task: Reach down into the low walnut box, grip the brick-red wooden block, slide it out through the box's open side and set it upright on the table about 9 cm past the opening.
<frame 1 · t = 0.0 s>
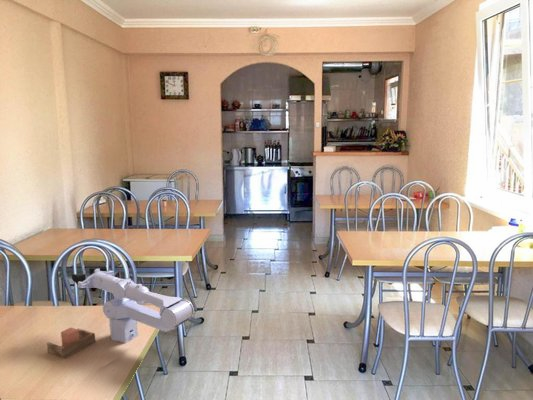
hand: (81, 273, 171), 22 cm above the table, tool horizontal, fingers open, 7 cm apart
box: (72, 348, 158), on the table
block: (71, 346, 158), point 1 cm above the table, touching box
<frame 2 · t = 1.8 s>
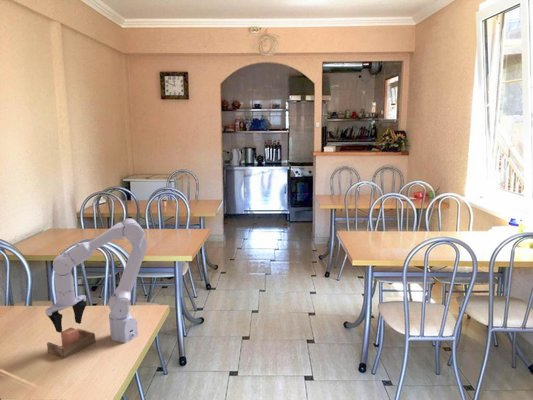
hand: (68, 327, 157), 8 cm above the table, tool pointing down, fingers open, 7 cm apart
nothing on the table moved.
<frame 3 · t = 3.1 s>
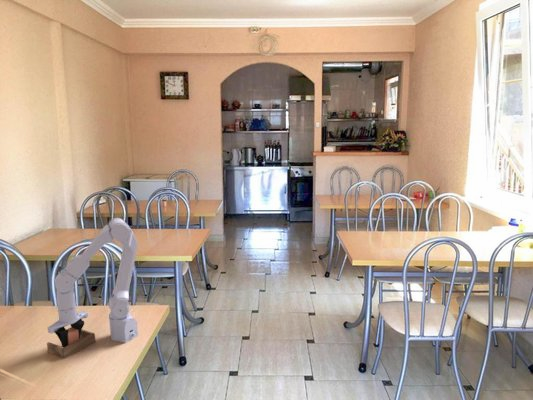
hand: (70, 344, 158), 2 cm above the table, tool pointing down, fingers closed on block, 4 cm apart
block: (71, 346, 158), point 1 cm above the table, touching box, gripper
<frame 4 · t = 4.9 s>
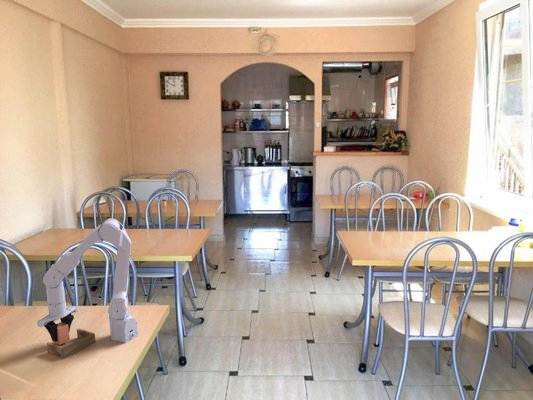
hand: (60, 337, 160), 3 cm above the table, tool pointing down, fingers closed on block, 4 cm apart
block: (61, 341, 161), point 2 cm above the table, touching gripper
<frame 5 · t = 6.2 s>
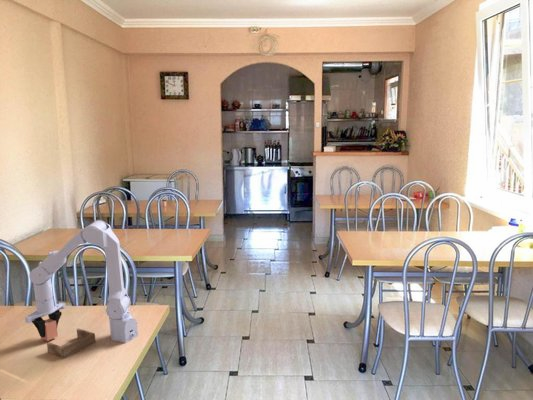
hand: (48, 333, 164), 3 cm above the table, tool pointing down, fingers closed on block, 4 cm apart
block: (49, 337, 164), point 1 cm above the table, touching gripper
when the fingers open (2 cm above the table, at t = 7.0 s): block stays where it is, on the table.
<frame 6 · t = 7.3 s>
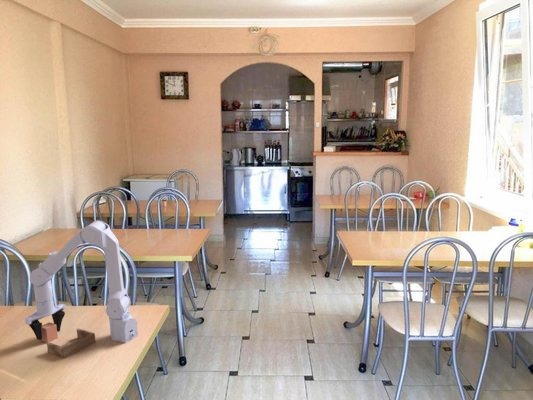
hand: (48, 335, 164), 2 cm above the table, tool pointing down, fingers open, 7 cm apart
block: (49, 340, 164), on the table
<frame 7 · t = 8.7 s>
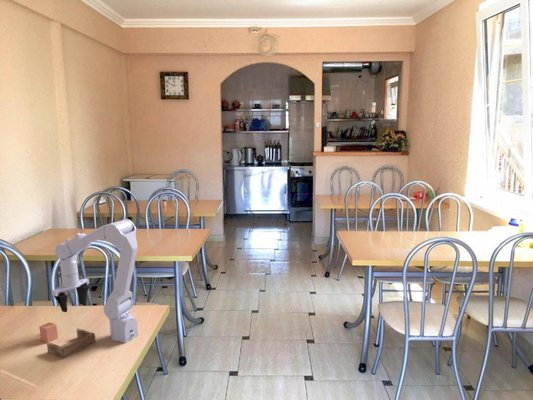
hand: (73, 307, 170), 9 cm above the table, tool pointing down, fingers open, 7 cm apart
nothing on the table moved.
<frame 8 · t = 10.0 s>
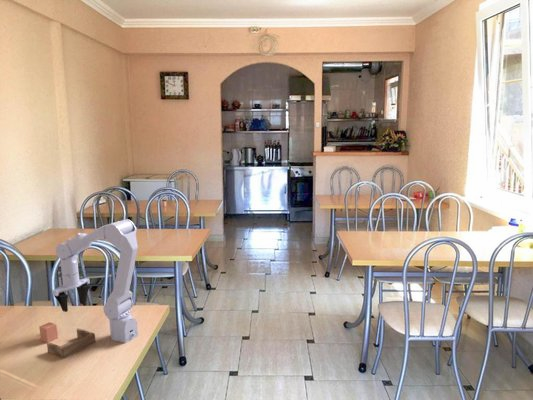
hand: (73, 307, 170), 9 cm above the table, tool pointing down, fingers open, 7 cm apart
nothing on the table moved.
at the end: block inside the target area (0.2 cm from its centre), on the table; block tilted 0°; the gripper is holding nothing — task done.
